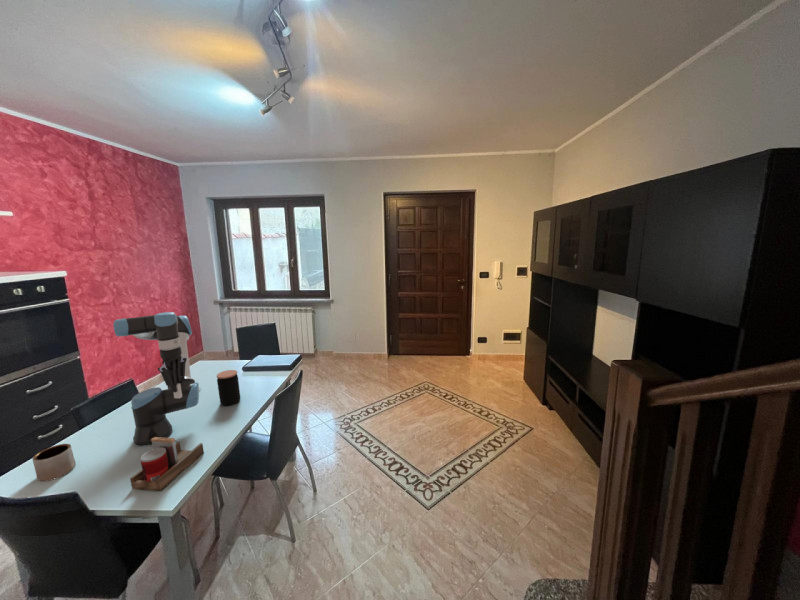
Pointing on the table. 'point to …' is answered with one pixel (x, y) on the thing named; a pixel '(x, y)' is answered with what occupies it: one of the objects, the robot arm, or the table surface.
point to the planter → (54, 462)
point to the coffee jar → (228, 387)
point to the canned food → (154, 464)
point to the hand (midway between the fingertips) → (178, 397)
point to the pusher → (168, 445)
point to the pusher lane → (161, 483)
